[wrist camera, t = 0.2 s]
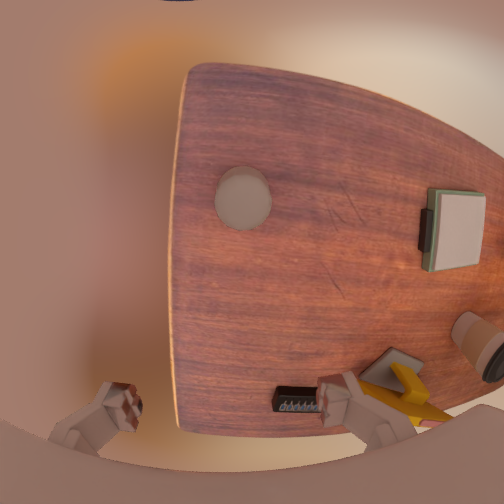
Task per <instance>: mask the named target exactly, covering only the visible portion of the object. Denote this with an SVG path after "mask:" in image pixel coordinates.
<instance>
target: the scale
mask: <svg viewBox="0 0 504 504" xmlns="http://www.w3.org/2000/svg"><path fill="white" fill-rule="evenodd" d="M485 205H486V197H484V193H480V192H474V191H463V190H449V189H433V188H428V203H427V209H421V222H420V235H419V246H418V250H420V251H422V252H424V254H423V262H422V268H423V269H424V270H426V271H427V272H434V271H441V270H447V269H453V268H459V267H465V266H471V265H476V264H478V263H479V257H480V251H481V244H482V237H483V228H484V218H485Z"/></svg>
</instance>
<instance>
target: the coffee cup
mask: <svg viewBox="0 0 504 504" xmlns="http://www.w3.org/2000/svg"><path fill="white" fill-rule="evenodd" d="M451 338H452V340H453V341H454V342H455V344H456V345H457V346H458V347H459V348H460V350H461V351H462V353H463V354H464V355H465V357H466V358H467V359H468V361H469V362H470V363H471V365H472V366H473V367H474V369H475V370H476V371H477V372H478V373H479V374H480V375H481V377H482V380H483V381H486V382H487V383H492V382H494V383H495V382H498V381H499V380H501V379H502V378H503V377H504V331H502V330H501V329H499V328H498V327H496V326H494V325H493V324H491V323H490V322H488V321H486V320H485V319H482V318H480V317H479V316H477V315H475V314H474V313H472V312H470V311H468V312H465V313H463V314H462V315H461V316H460V317H459V318H458V319H457V321H456V322H455V324H454V326H453V328H452V332H451Z"/></svg>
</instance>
